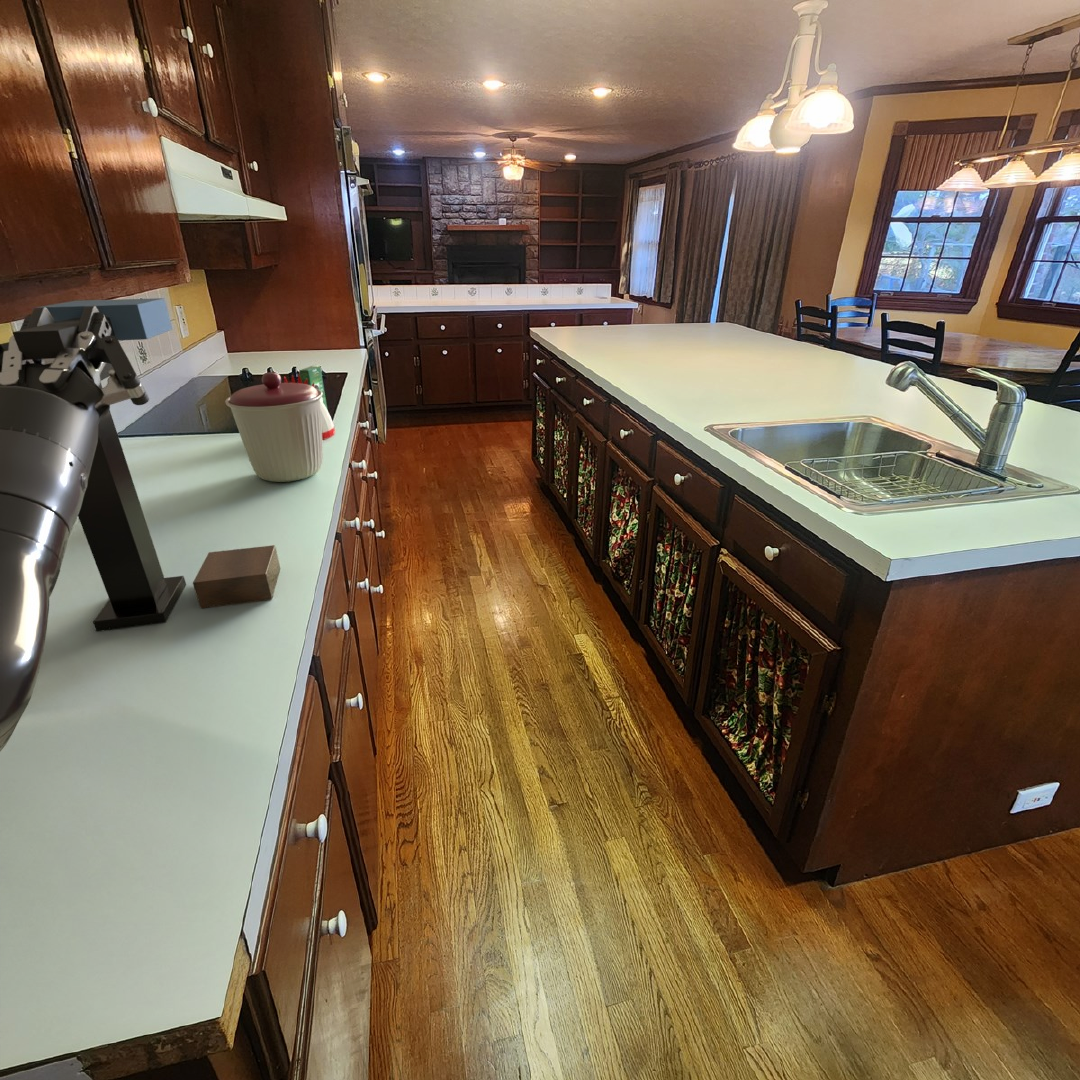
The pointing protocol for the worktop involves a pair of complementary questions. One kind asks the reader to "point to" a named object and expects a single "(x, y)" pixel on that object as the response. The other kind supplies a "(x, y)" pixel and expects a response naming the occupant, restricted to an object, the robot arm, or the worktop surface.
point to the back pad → (122, 316)
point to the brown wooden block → (237, 576)
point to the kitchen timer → (325, 416)
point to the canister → (280, 428)
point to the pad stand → (122, 539)
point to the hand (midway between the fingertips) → (71, 316)
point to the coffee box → (314, 379)
